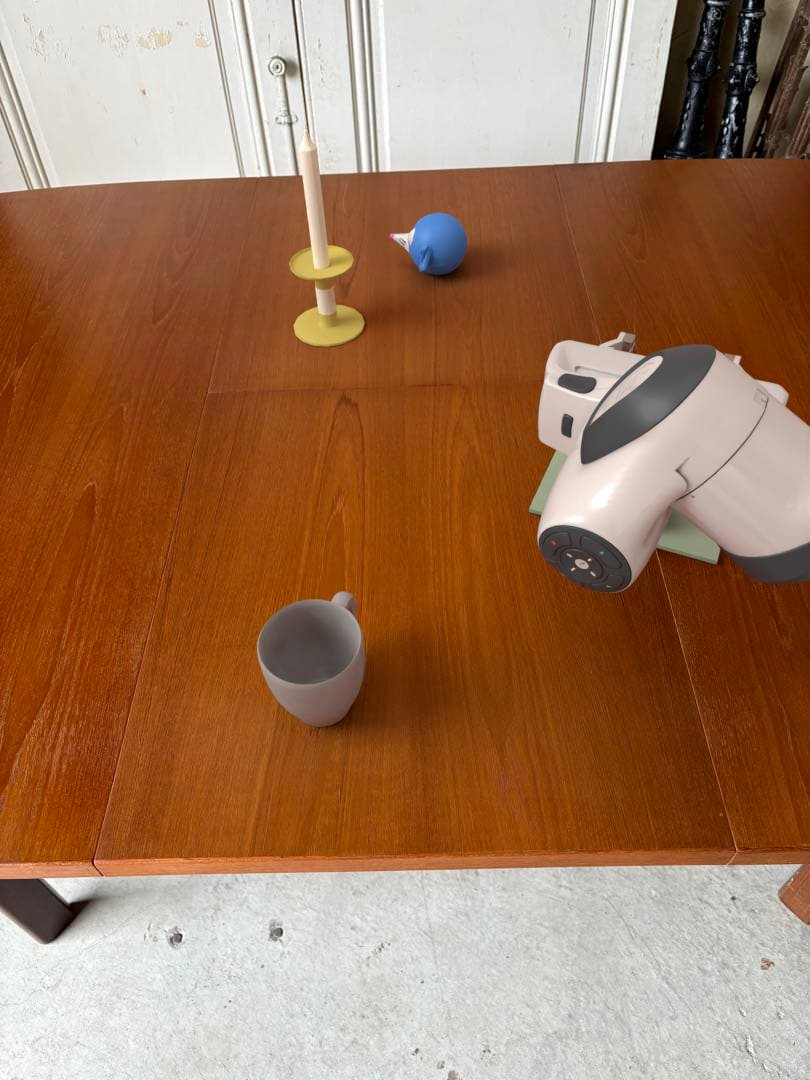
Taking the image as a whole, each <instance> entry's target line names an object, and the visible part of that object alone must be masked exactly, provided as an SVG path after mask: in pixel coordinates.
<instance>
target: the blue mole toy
mask: <svg viewBox="0 0 810 1080" xmlns="http://www.w3.org/2000/svg"><path fill="white" fill-rule="evenodd" d="M389 238H390V240H391V241H395V242H396V243H398V244H399V245H400V246H401V247H402V248H403V249H404V250H405V251H406V252H408V253H409V255H410V257H411V259H412V261H413V263H414V264H415V265H416V267H417V268H418V270H419V272H420V273H426V274H429V275H435V276H439V275H440V276H441V275H446V274H450V273H451V272H453V271H455V270H456V269H457V268H458V267H460V265H461V264H462V262H463V260H464V259H465V256H466V253H467V249H468V236H467V232H466V230H465V227H464V226H463V224H462V222H460V221H459V220H458V219H457V218H456V217H455V216H453V215H450V214H448V213H444V212H434V213H429V214H426V215H425V216H423V217H421V218H420V219H419V220H418V221H417V222H416V223H415V225H414V227H413V229H411V230H410V232H405V233H394V232H393V233H390V235H389Z"/></svg>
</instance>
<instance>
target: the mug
mask: <svg viewBox="0 0 810 1080" xmlns="http://www.w3.org/2000/svg"><path fill="white" fill-rule="evenodd" d="M364 639H365V638H364V633H363V630H362V627H361V625H360V622H359V621H358V619H357V599H356V598H355V596H354V595H353V593H351V592H348V591H343V590H342V591H338V592H337V593H335V594H334V596H333V597H332V599H331V601H330V600H324V599H316V598H315V599H313V598H312V599H303V600H299V601H296V602H295V601H294V602H292V603H290V604H287V605H286V606H283V607H282V608H281V609H279V610H277V611H276V612H275V613H274V614H273V615H272V616H271V617H269V618H268V620H267V621H266V622H265V623H264V625H263V627H262V628H261V629H260V633H259V635H258V639H257V643H256V653H257V660H258V663H259V667H260V668H261V672H262V675H263V677H264V680H265V682H266V684H267V686H268V688H269V690H270V691H271V693H272V695H273V697H274V698H275V699H276V701H278V703H279V704H280V706H281V707H283V708H284V709H285V710H286V711H287V712H288V713H290V714H291V715H292V716H294V717H295V718H296V719H299V720H300V721H301V722H302V723H304V724H306V725H309V726H311V727H317V728H323V727H329V726H332V725H334V724H337V723H338V722H340V721H341V720H342V719H343V718H345V716H346V715H347V714H348V712H349V710H350V708H351V707H352V706H353V704H354V702H355V700H356V699H357V697H358V695H359V693H360V690H361V687H362V684H363V679H364V675H365V665H366V649H365V640H364Z"/></svg>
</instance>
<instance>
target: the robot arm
mask: <svg viewBox="0 0 810 1080" xmlns="http://www.w3.org/2000/svg"><path fill="white" fill-rule="evenodd" d="M636 340H637V334H635V333H634V334H633V333H629V332H624V331H620V332H619V335H618V337H617V338H615V339H612V340H609V341H606V342H604V343H600V344H599V345H596V344H591V343H586V342H580V341H577V340H573V339H567V340H566V339H565V340H563V341H560V342H557V343H555V345H554V346H553V348H552V349H551V351H550V353H549V355H548V358H547V360H546V364H545V370H544V379H543V385H542V388H541V393H540V398H539V405H538V417H537V428H538V440H539V441H540V442H541V443H542V444H544V445H545V446H548V447H550V448H551V449H553V450H555V451H556V450H557V451H559V452H561V453H563V454H564V455H566V456H568V458H567V459H566V460H565V462H564V464H563V466H562V467H561V469H560V471H559V473H558V475H557V477H556V479H555V481H554V484H553V486H552V488H551V490H550V493H549V495H548V498H547V500H546V503H545V506H544V509H543V512H542V515H540V519H539V523H538V528H537V536H536V537H537V538H536V540H537V546H538V549H539V551H540V554H541V556H542V557H543V559H545V561H546V562H547V563H548V565H550V567H552V568H553V569H554V570H555V571H556V572H558V573H559V574H560V575H562V576H563V577H564V578H565V579H567V580H569V581H570V582H572V583H573V584H574V585H577V586H578V587H579V588H584V589H586V590H589V591H592V592H596V593H604V594H605V593H606V594H614V593H620V592H622V591H625V590H627V589H628V588H630V587H631V586H632V585H633V584H634V583H635V582H636V580H637V578H638V577H639V576H640V575H641V573H642V572H643V570H644V569H645V567H646V565H647V564H648V562H649V561H650V559H651V557H652V555H653V553H654V552H655V550H656V549H657V548H656V546H657V544H658V542H659V540H660V538H661V535H662V533H663V531H664V529H665V526H666V524H667V522H668V519H669V517H670V514H671V512H672V509H675V510H676V511H677V512H678V513H680V514H681V515H682V516H683V517H685V518H686V519H687V520H688V521H690V522H691V523H692V524H693V525H695V526H696V527H697V528H698V529H700V530H701V531H702V532H703V533H705V534H706V535H707V536H708V537H709V538H711V539H712V540H713V541H714V542H716V543H717V545H718V546H719V548H720V551H722V552H723V553H724V554H725V555H727V556H728V558H730V560H732V561H733V563H734V564H735V565H736V566H738V567H739V568H740V569H741V571H743V572H744V573H745V574H746V575H747V576H748V577H749V578H750V579H751V580H753V581H755V582H757V583H762V584H773V585H774V584H778V585H781V584H798V583H805V582H810V426H809V425H808V424H807V423H806V422H805V421H803V420H802V419H801V418H800V417H799V416H798V415H796V414H795V413H794V412H792V411H791V410H790V409H789V408H788V407H786V406H787V403H788V401H789V396H790V395H789V393H788V392H787V390H786V389H785V388H784V387H783V386H782V385H781V384H777V383H774V382H769V381H764V380H760V379H755V378H754V377H753V376H751V375H750V374H749V373H747V372H746V371H745V370H744V368H743V367H742V366H741V365H740V363H741V359H742V356H741V355H736V354H730V353H726V352H725V353H722V352H721V351H719V350H718V349H716V347H715V346H714V345H712V344H703V343H702V344H701V343H699V344H695V343H694V344H685V345H678V346H673V347H669V348H665V349H660V350H656V351H653V352H651V353H650V354H647V355H642V354H637V353H633V352H634V350H635V347H636Z"/></svg>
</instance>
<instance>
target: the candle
mask: <svg viewBox="0 0 810 1080" xmlns="http://www.w3.org/2000/svg"><path fill="white" fill-rule="evenodd" d="M298 152H299V159H300V167H301V168H300V169H301V176H302V183H303V184H302V185H303V191H304V200H305V208H306V214H307V222H308V223H307V224H308V230H309V238H310V239H309V240H310V245H311V246H309V247H307V248H304V249H301V250H299V251H297V252H296V253H295V254H294V255H292V256H291V258H290V261H289V262H288V264H289V267H290V272H291V273H293V274H294V275H295V276H296V277H297V278H299V279H303V280H306V281H311V282H312V281H313V282H314V287H315V296H316V303H317V306H315V307H313V308H310V309H307V310H305V311H304V312H302V313H301V314H300V315H299V316H297V318H296V319H295V322H294V324H293V330H294V335H295V337H297V338H298V339H299V340H300V341H301V342H303V343H305V344H306V345H311V346H313V347H324V348H330V347H336V346H342V345H345V344H348V343H349V342H352V341H354V340H355V339H357V338H358V337H359V336H360V335H361V334H362V333H363V331H364V328H365V325H366V323H365V320H364V317H363V315H362V313H360V312H359V311H358V310H356V309H355V308H353V307H350V306H346V305H343V304H337V303H336V294H335V285H334V279H338V278H340V277H343V276H345V275H346V274H347V273H348V272H349V271H350V270H352V267H353V265H354V262H355V260H354V257H353V253H351V252H350V251H348V249H346V248H343V247H340V246H337V245H329V243H328V236H327V235H328V234H327V225H326V218H325V208H324V199H323V191H322V181H321V173H320V172H321V171H320V164H319V155H318V154H319V153H318V147H317V144H315V143H314V142H313V140H312V139H311V136H310V133H309V131H308V129H307V124H305V125H304V130H303V136H302V141H301V144H300V145H299V147H298Z"/></svg>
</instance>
